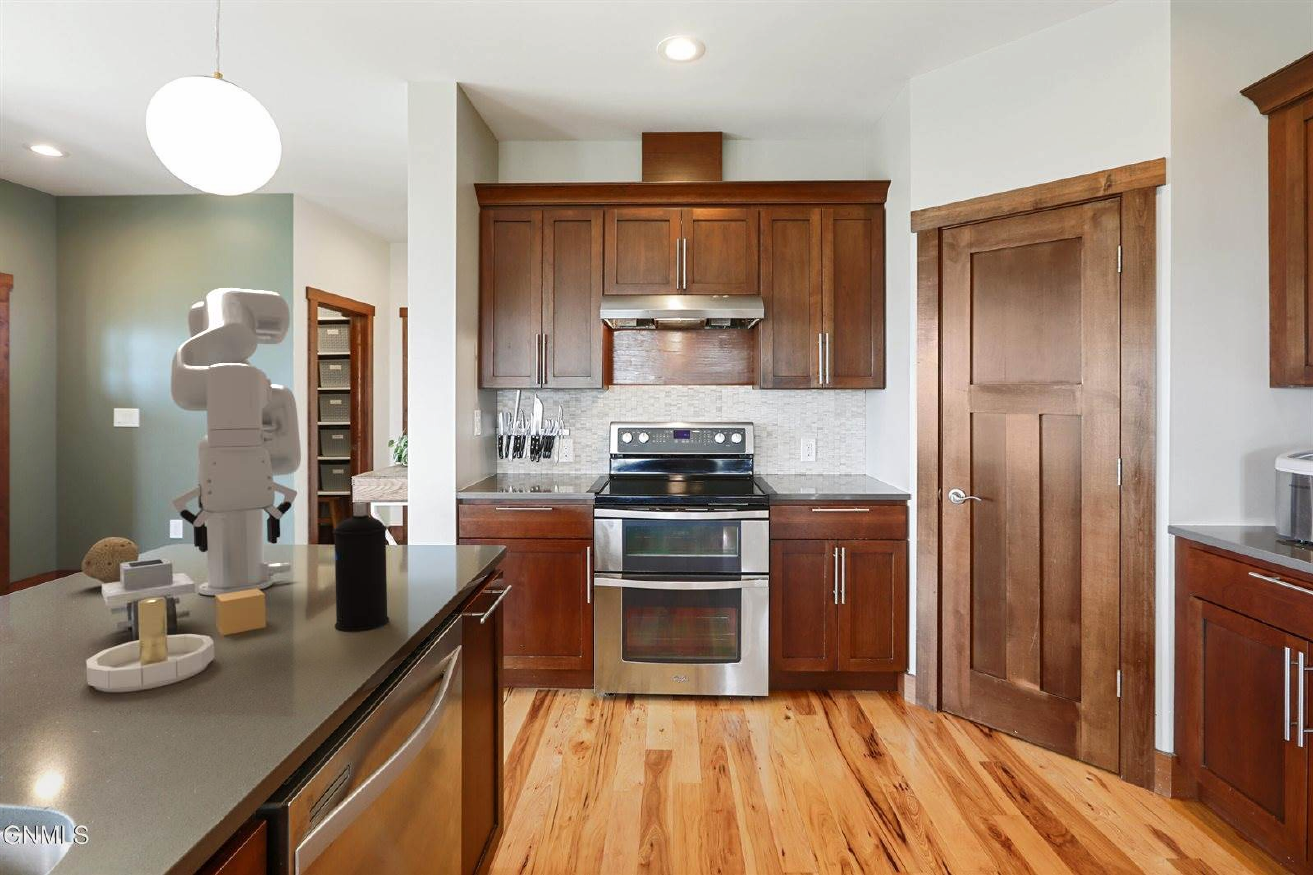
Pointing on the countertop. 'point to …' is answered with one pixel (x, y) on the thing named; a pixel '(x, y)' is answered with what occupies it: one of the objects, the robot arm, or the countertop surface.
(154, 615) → the pin
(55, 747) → the countertop surface
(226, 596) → the orange cube
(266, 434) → the robot arm
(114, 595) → the white stand
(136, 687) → the dish
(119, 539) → the natural sponge
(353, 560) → the aerosol can
